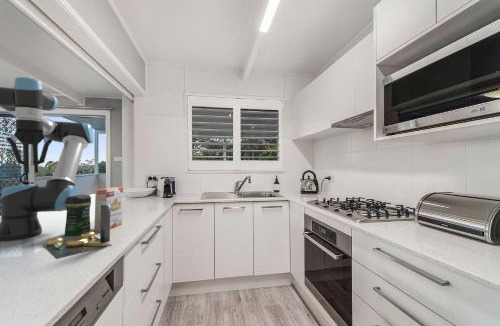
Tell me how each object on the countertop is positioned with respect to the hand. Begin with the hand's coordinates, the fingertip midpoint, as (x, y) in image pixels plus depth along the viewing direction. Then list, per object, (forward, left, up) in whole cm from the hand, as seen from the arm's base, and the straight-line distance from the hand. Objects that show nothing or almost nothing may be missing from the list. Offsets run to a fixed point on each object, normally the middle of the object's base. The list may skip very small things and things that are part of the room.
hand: (31, 181), depth 89 cm
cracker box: (-7, +30, -26) cm, 40 cm away
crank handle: (+16, +15, -24) cm, 33 cm away
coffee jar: (-7, +17, -26) cm, 32 cm away
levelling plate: (+12, +12, -26) cm, 31 cm away
